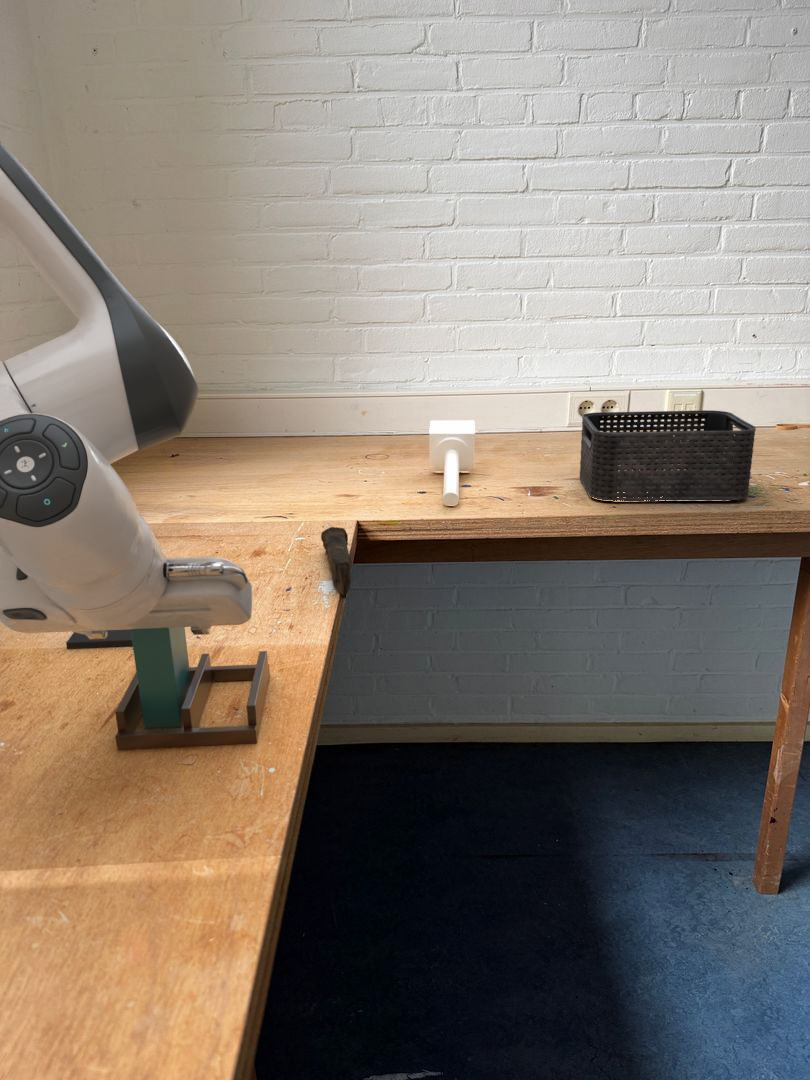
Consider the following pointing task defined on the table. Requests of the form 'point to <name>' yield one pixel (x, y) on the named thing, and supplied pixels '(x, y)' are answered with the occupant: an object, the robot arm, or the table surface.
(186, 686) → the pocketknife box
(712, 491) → the storage bin
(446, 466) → the paper towel holder
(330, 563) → the hand tool
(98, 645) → the rubber mat
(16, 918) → the table surface
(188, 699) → the slot rack
